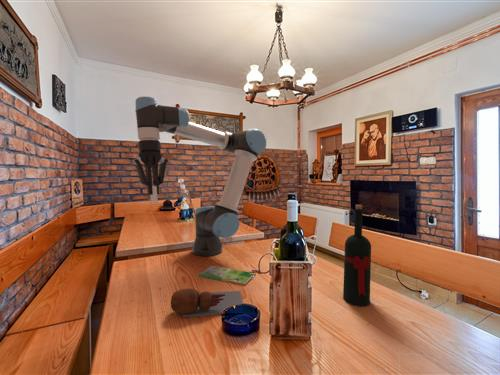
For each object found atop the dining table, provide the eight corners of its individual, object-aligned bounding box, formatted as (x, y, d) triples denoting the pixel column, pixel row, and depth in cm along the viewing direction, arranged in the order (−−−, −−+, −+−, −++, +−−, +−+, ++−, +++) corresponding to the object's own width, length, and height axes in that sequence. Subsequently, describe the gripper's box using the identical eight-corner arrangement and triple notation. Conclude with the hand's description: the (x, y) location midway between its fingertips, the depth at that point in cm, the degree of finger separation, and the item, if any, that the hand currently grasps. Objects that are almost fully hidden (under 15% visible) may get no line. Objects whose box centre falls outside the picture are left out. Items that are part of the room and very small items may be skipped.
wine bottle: (347, 309, 71) (350, 207, 69) (340, 292, 81) (342, 203, 79) (376, 312, 69) (379, 208, 68) (365, 294, 79) (368, 203, 78)
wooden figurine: (174, 285, 72) (225, 285, 73) (174, 304, 72) (224, 304, 73) (169, 296, 65) (225, 295, 66) (168, 317, 65) (224, 316, 66)
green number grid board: (245, 287, 86) (256, 276, 95) (245, 283, 86) (256, 272, 95) (198, 277, 94) (212, 268, 103) (198, 273, 94) (212, 265, 103)
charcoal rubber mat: (182, 317, 67) (182, 315, 67) (188, 295, 79) (188, 293, 79) (243, 313, 69) (243, 311, 69) (240, 292, 81) (240, 290, 81)
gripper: (161, 142, 98) (165, 200, 100) (127, 140, 89) (132, 204, 90) (170, 140, 93) (174, 201, 95) (135, 138, 83) (141, 206, 85)
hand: (154, 202), depth 92 cm, fingers closed
